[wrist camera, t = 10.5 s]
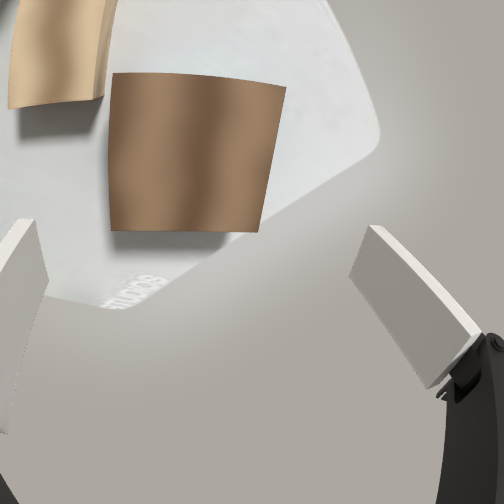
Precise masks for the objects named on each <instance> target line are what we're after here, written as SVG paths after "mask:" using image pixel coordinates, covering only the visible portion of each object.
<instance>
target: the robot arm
mask: <svg viewBox="0 0 504 504" xmlns="http://www.w3.org/2000/svg"><path fill="white" fill-rule="evenodd" d="M349 277H350V279H351V280H352V281H353V283H354V284H355V286H356V287H357V288H358V290H359V291H360V292H361V294H362V295H363V297H364V298H365V299H366V301H367V302H368V303H369V305H370V306H371V308H372V309H373V310H374V312H375V313H376V315H377V316H378V317H379V319H380V320H381V322H382V323H383V325H384V326H385V328H386V329H387V330H388V332H389V333H390V335H391V336H392V337H393V339H394V341H395V342H396V343H397V345H398V346H399V348H400V349H401V351H402V352H403V354H404V355H405V357H406V358H407V360H408V361H409V363H410V364H411V366H412V367H413V369H414V371H415V372H416V374H417V375H418V377H419V378H420V380H421V381H422V383H423V385H424V386H425V388H426V389H429V388H431V387H433V386H436V385H438V384H440V382H441V381H442V380H443V379H444V378H445V377H446V376H447V375H448V374H450V375H451V377H452V378H451V379H450V380H449V381H448V382H447V383H446V385H444V386H443V388H442V389H441V390H440V391H439V392H438V393H437V395H436V398H439V397H440V396H441V395H442V394H443V393H444V392H447V393H446V394H445V395H444V396H443V397H442V398H441V399H442V400H444V401H447V413H446V431H445V443H444V453H443V462H442V469H441V476H440V483H439V489H438V494H437V500H436V504H504V340H503V339H502V338H501V337H500V336H498V335H496V334H494V333H488V334H487V335H486V336H485V335H484V334H483V333H482V331H481V330H480V329H479V327H478V326H477V325H476V324H475V323H474V321H473V320H472V319H471V318H470V317H469V316H468V314H467V313H466V312H465V311H464V310H463V309H462V308H461V306H460V305H459V304H458V303H457V302H456V301H455V300H454V298H453V297H452V296H451V295H450V294H449V293H448V292H447V291H446V290H445V289H444V288H443V287H442V285H440V283H439V282H438V281H437V280H436V279H435V278H434V277H433V276H432V275H431V274H430V273H429V272H428V271H427V270H426V269H425V268H424V267H423V266H422V265H421V264H420V263H419V262H418V261H417V259H415V258H414V256H412V255H411V254H410V253H409V252H408V251H407V250H406V249H405V248H404V247H403V246H402V245H401V244H400V243H399V242H398V241H397V240H396V239H395V238H394V237H393V236H392V235H391V234H390V233H389V232H388V231H386V230H385V229H384V228H383V227H382V226H375V225H369V226H368V228H367V231H366V233H365V236H364V239H363V241H362V244H361V247H360V249H359V252H358V255H357V257H356V260H355V262H354V265H353V267H352V270H351V272H350V274H349ZM48 282H49V279H48V275H47V271H46V268H45V264H44V260H43V256H42V251H41V247H40V242H39V238H38V233H37V228H36V222H35V219H18V220H17V221H16V222H15V224H14V225H13V226H12V228H11V229H10V230H9V232H8V233H7V235H6V236H5V237H4V239H3V240H2V242H1V243H0V433H3V434H8V427H9V421H10V414H11V409H12V403H13V398H14V393H15V388H16V383H17V379H18V375H19V371H20V367H21V363H22V359H23V356H24V352H25V348H26V345H27V341H28V338H29V335H30V332H31V329H32V326H33V322H34V320H35V317H36V314H37V311H38V308H39V305H40V302H41V300H42V297H43V294H44V292H45V289H46V287H47V284H48ZM0 504H19V503H18V501H17V500H16V498H15V497H14V495H13V494H12V492H11V491H10V489H9V487H8V486H7V484H6V482H5V481H4V479H3V477H2V475H1V474H0Z"/></svg>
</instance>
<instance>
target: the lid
mask: <svg viewBox="0 0 504 504" xmlns="http://www.w3.org/2000/svg"><path fill="white" fill-rule="evenodd" d="M285 92H286V87H283V86H278V85H272V84H267V83H261V82H254V81H248V80H240V79H233V78H224V77H215V76H204V75H192V74H175V73H113V77H112V87H111V100H110V116H109V148H108V171H109V203H110V220H111V231H206V232H258V229H259V224H260V219H261V214H262V209H263V204H264V199H265V194H266V189H267V184H268V179H269V174H270V168H271V163H272V158H273V153H274V148H275V143H276V138H277V133H278V128H279V122H280V117H281V112H282V107H283V102H284V97H285Z"/></svg>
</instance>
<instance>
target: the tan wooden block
mask: <svg viewBox="0 0 504 504" xmlns="http://www.w3.org/2000/svg"><path fill="white" fill-rule="evenodd" d="M116 5H117V0H20V2H19V7H18V11H17V16H16V22H15V27H14V34H13V40H12V48H11V57H10V68H9V83H8V110H9V109H15V108H21V107H27V106H34V105H41V104H49V103H58V102H68V101H81V100H93V99H96V98H99V97H101V96H104V90H105V79H106V69H107V60H108V52H109V45H110V38H111V32H112V26H113V20H114V15H115V10H116Z"/></svg>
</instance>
